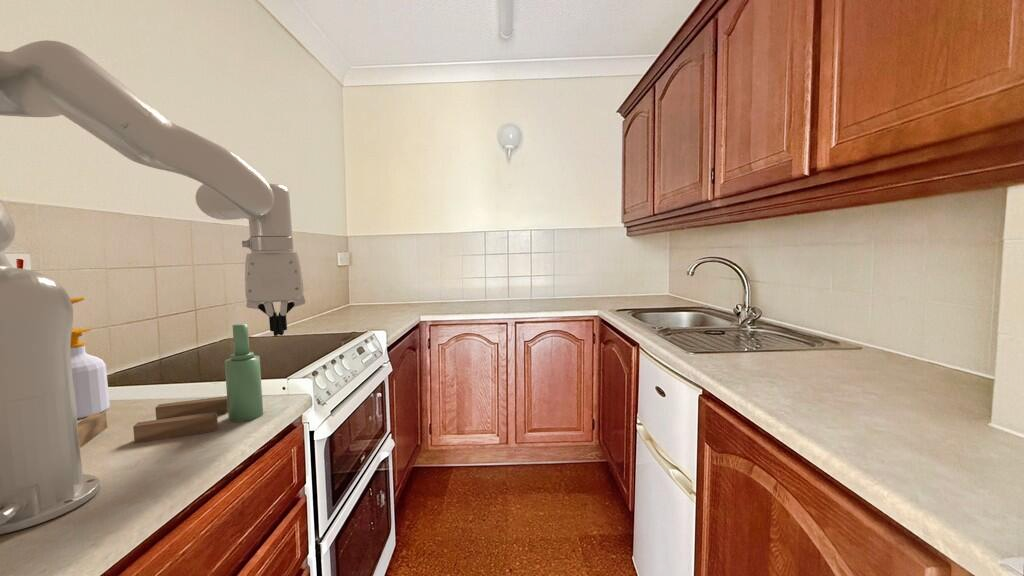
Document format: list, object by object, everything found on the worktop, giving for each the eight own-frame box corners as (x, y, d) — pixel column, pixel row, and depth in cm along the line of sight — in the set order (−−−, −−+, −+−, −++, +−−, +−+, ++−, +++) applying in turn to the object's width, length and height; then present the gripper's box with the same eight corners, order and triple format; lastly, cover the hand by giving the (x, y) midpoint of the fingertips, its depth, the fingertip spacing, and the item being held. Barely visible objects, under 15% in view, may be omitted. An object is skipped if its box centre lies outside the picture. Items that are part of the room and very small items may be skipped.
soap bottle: (79, 421, 85) (66, 300, 83) (35, 421, 85) (21, 301, 83) (121, 405, 94) (111, 295, 92) (81, 405, 94) (70, 296, 92)
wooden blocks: (215, 430, 79) (214, 415, 79) (59, 453, 71) (57, 436, 71) (229, 409, 90) (228, 395, 90) (96, 427, 82) (95, 412, 82)
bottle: (260, 419, 85) (254, 325, 83) (225, 424, 82) (218, 328, 81) (265, 409, 90) (259, 321, 89) (232, 413, 88) (226, 323, 86)
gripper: (224, 246, 80) (233, 341, 82) (311, 245, 85) (317, 334, 87) (233, 246, 87) (240, 334, 88) (313, 245, 92) (319, 327, 94)
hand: (279, 334), depth 88 cm, fingers closed
